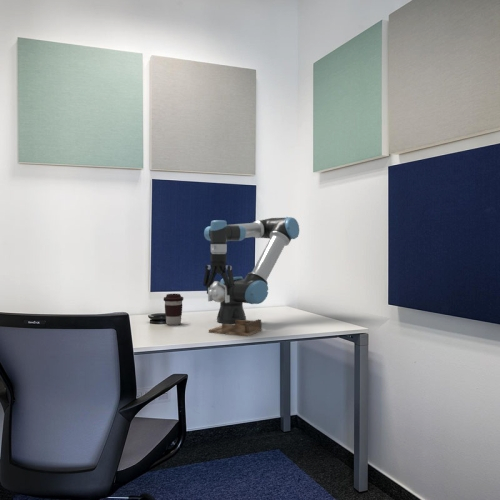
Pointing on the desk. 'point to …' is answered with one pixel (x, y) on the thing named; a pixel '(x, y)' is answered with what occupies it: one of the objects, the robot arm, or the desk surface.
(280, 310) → the desk surface
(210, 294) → the silver round lump
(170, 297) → the coffee cup
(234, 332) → the open wooden box
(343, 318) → the desk surface
